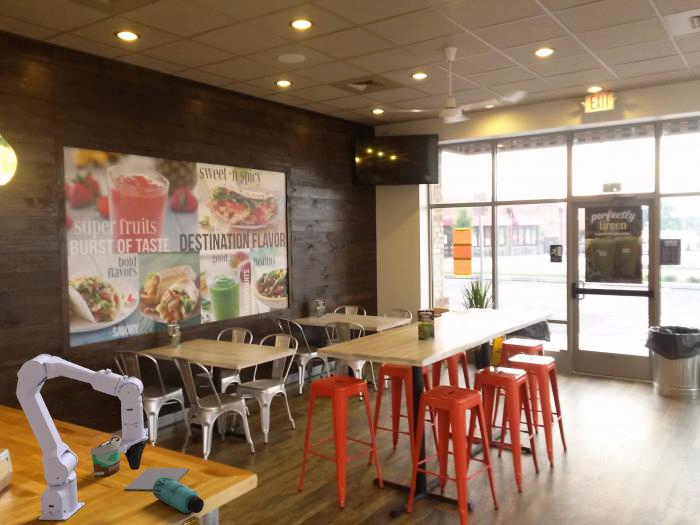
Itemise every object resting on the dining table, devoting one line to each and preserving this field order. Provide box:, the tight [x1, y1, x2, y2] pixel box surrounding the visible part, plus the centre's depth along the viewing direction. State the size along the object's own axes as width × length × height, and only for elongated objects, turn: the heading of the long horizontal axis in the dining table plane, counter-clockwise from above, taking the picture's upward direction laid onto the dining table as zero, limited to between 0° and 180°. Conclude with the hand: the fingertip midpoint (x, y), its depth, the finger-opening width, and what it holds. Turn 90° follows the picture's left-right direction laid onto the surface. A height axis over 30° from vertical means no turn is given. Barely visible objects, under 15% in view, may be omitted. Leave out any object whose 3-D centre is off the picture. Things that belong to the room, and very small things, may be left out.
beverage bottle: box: [152, 476, 205, 514], centre depth 166 cm, size 6×7×20 cm
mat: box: [124, 467, 190, 491], centre depth 185 cm, size 16×14×1 cm
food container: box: [89, 434, 122, 478], centre depth 192 cm, size 12×6×10 cm, turn 168°
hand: (135, 468), depth 168 cm, fingers closed
